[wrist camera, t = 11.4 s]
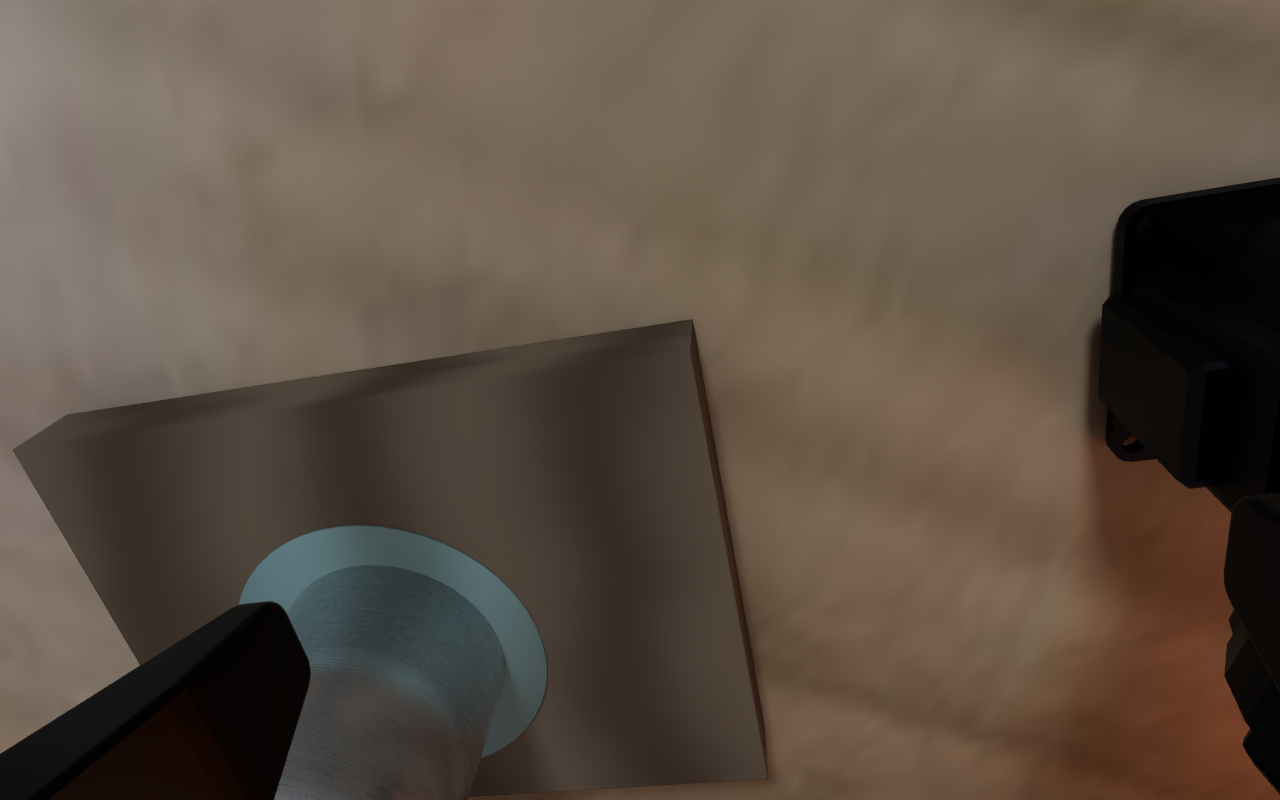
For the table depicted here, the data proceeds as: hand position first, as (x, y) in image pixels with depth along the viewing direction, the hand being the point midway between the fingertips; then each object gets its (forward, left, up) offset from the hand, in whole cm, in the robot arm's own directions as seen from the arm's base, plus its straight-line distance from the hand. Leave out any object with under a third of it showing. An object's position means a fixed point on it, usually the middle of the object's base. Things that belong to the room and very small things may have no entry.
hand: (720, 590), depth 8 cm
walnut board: (+10, +9, -13) cm, 19 cm away
